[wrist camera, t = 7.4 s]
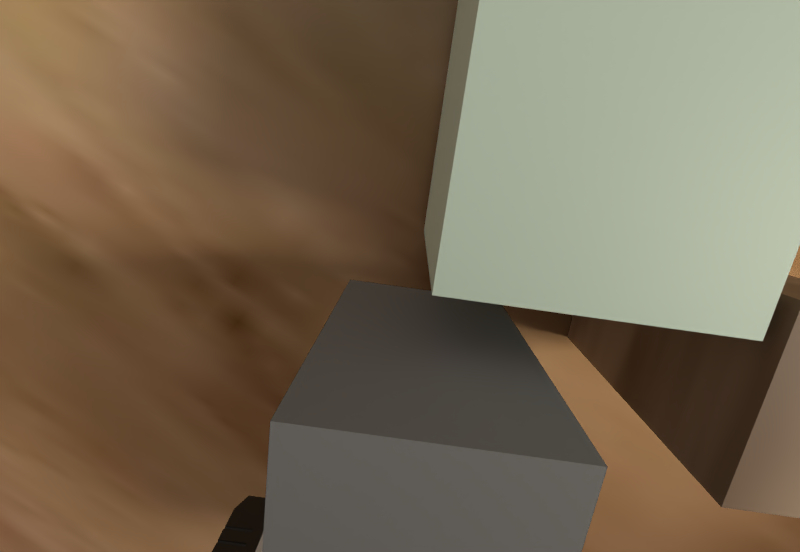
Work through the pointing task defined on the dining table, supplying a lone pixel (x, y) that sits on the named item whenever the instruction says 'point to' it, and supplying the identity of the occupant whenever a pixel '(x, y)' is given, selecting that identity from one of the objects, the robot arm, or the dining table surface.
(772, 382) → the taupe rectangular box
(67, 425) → the dining table surface
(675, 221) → the pale green box
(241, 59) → the dining table surface
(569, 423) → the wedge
